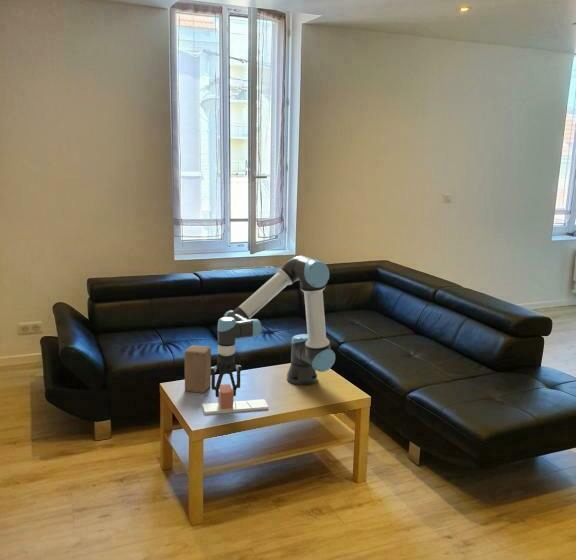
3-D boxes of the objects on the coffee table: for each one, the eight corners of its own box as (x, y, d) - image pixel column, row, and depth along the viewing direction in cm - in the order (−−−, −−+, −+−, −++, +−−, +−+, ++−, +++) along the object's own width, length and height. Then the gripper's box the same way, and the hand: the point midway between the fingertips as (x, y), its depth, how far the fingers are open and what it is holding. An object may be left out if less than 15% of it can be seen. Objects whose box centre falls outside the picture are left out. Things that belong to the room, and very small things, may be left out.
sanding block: (229, 400, 259) (229, 384, 257) (232, 409, 250) (233, 392, 248) (218, 401, 257) (218, 384, 256) (221, 410, 249) (221, 393, 247)
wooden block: (204, 393, 269) (204, 353, 264) (183, 391, 271) (183, 351, 266) (211, 385, 278) (211, 346, 274) (191, 383, 280) (191, 344, 276)
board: (264, 401, 263) (264, 399, 262) (268, 409, 255) (268, 406, 255) (202, 406, 256) (202, 403, 255) (204, 414, 248) (204, 411, 248)
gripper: (245, 349, 254) (244, 398, 259) (204, 351, 250) (203, 401, 255) (248, 354, 247) (247, 405, 252) (206, 357, 243) (206, 408, 248)
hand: (225, 403), depth 254 cm, fingers closed on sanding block, 5 cm apart
